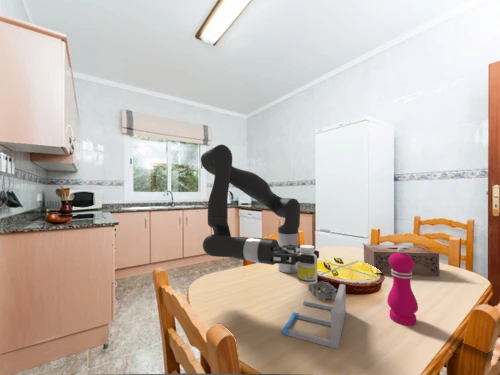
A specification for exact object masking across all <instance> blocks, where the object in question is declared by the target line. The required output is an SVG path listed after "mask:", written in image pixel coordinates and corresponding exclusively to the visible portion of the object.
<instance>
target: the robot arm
mask: <svg viewBox="0 0 500 375" xmlns="http://www.w3.org/2000/svg"><path fill="white" fill-rule="evenodd" d="M200 164H201V166H202V168H204V170H205V171H206V172H208V173H209V174H211V175H212V176H213V175H214V179H213V185H212V188H211V191H210V194H209V198H208V202H207V225H208V227H210V228H212V230H213V234H209V235H208V236H206V237H205V238H204V239H203V242H202V249H203V251H204V253H206V254H207V256H211V257H216V258H217V257H218V258H220V257H221V258H233V259H238V260H243V261H244V260H245V261H249V262H252V263H257V264H265V265H270V266H274V265H276V264H278V268H277V269H278V271H279V272H282V273H286V274H294V273H298V263H307V264H314V263H315V257H314V256H313V255H306V254H299V253H301V252H300V246H301V245H299V229H300V224H301V223H300V222H301V221H300V220H301V205H300V203H299V201H298V200H297V199H296V198H290V197H289V198H288V197H287V198H286V197H285V198H284V197H281V196H278V195H277V194H276V193H274V192H273V191H272V188H271V186H270V185H269V183H268V182H267V181H266V180H265V179H264V178H262V177H261V176H259V175H258V174H257V173H253V172H251V171H247V170H244V169H241V168H237V167H235V166H233V153H232V151H231V149H230V148H229V147H228V145H226V144H222V143H221V144H217V145H214V146H212V147H211V148H209V149H208V150H206V151H204V152H203V153H202V155H201V157H200ZM230 185H232V186H233V187H235V188H236V189H238V190H240V191H241V192H243V194H246V196H247V195H248V197H250V198H251V199H253V200H255V201H257V202H259V203H260V204H261V205H263V206H265V207H266V208H268V209H269V210H270V211H271V212H273V213H274V214H275V215H276V216H278V217H280V218H283V219H284V223H282V224H281V225H279V226H278V228H277V239H278V240H277V239H276V238H275V239H273V238H264V237H246V236H232V235H231V230H230V226H229V223H228V222H229V221H228V219H229V217H228V214H229V213H228V212H229V211H228V204H229V203H228V200H229V199H228V197H229V187H230ZM314 254H315V255H316V256H317V260H318V259H319V258H320V251H319V250H316V249H314Z"/></svg>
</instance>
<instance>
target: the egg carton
mask: <svg viewBox="0 0 500 375" xmlns="http://www.w3.org/2000/svg"><path fill="white" fill-rule="evenodd" d="M324 281H325V280H320V281H318V280H317V282H316V283H315V284H307V285H308V286H307V287H308V292H311V294H312V295H313V296H316V299H317V300H320V301H324V302H325V301H326V300H327V299H328V300H329V299H330V300H333V301H335V298H336V295H337V291H338V289H337V288H335V287H334V285H332V284H330V283H329V281H328V282H324Z"/></svg>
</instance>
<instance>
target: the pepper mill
mask: <svg viewBox="0 0 500 375" xmlns="http://www.w3.org/2000/svg"><path fill="white" fill-rule="evenodd" d="M397 251H398V253H394V254H392V255H391V256H390V258H389V264H390V266H391V267H392V268H393V269H391V271H392V272H391V274H390V275H392V280H393V281H392V282H393V283H392V286H391V289H390V291H388V292H389V293H388V294H387V300H386V301H387V302H386V303H387V305H388V306H389V307H390V309H389V318H390V319H391V320H392V321H393V322H396V323H398V324H400V325H403V326H404V325H405V326H415V325H416V324H417V315H416V313H417V311H418V310H419V305H418V304H419V303H418V300H417V299H416V296H415V294H414V292H413V290H412V287H411V285H412V284H411V279H412V278H413V275H412V272H411V270H412V269H413V268H414V261H413V259H412V258H411V257H410V256H409V255H407V254H405V253H404V252H405V250H404V249H403V248H401V247H400V248H398V249H397Z"/></svg>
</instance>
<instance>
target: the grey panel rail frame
mask: <svg viewBox="0 0 500 375" xmlns="http://www.w3.org/2000/svg"><path fill="white" fill-rule="evenodd" d="M346 296H347V295H346V284H345V283H344V284H343V283H340V284H339V286H338V289H337V291H336V298H335V300H333V301H334V302H333V303H332V305H330V304H325V303H320V302H315V301H312V300H311V301H310V300H305V299H304V300H303V302H302V303H303V304H302V305H304V306H308V307H314V308H317V309H323V310H328V311H330V319H326V318H322V317H317V316H312V315H308V314H304V313H299V312H295V311H293V312H292V314H291V316H290V318H289V319H288V320H287V322H286V323H285V325H284V326H283V328H282V329H281V335H283V336H284V335H285V336H288V337H293V338H297V339H301V340H304V341H307V342H311V343H314V344H318V345H323V346H326V347H330V348H333V349H337V350H339V347H340V343H341V338H342V332H343V327H344V323H345V322H344V321H345V318H346V312H347V311H346V310H347V308H346V307H347V306H346V303H347V302H346ZM296 319H299V320H304V321H308V322H312V323H316V324H320V325H325V326H328V327H330V331H331V332H330V338H331V339H328V338H324V337H319V336H318V335H317V336H316V335H313V334H310V333H305V332H301V331H297V330H293V329H291V326H292V325H293V323H294V321H295V320H296Z"/></svg>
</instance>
